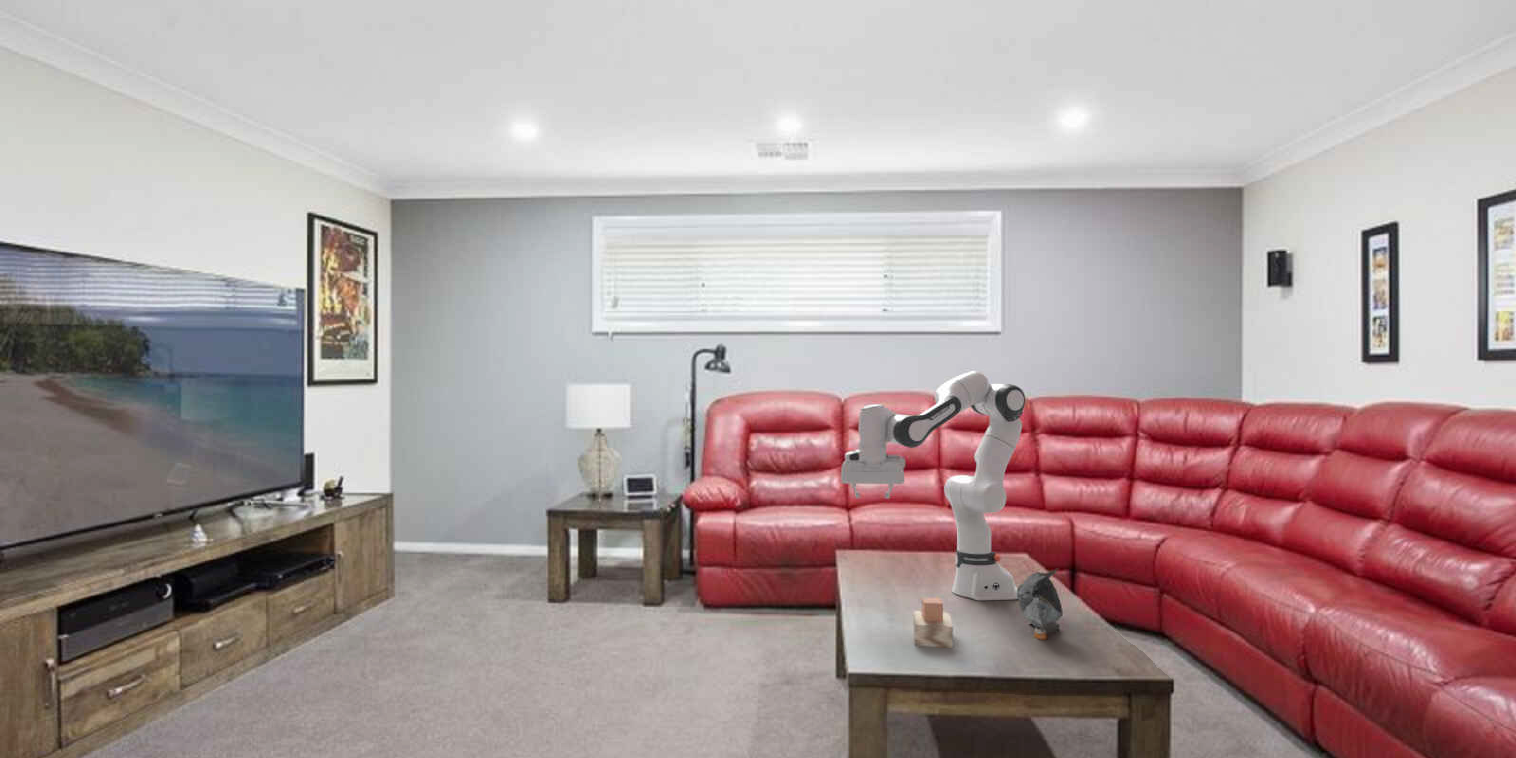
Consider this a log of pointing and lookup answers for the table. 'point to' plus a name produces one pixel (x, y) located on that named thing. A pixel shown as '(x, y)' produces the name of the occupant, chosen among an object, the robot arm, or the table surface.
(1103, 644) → the table surface
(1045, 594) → the grey faceted figure
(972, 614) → the table surface
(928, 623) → the birch block
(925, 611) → the terracotta cube
